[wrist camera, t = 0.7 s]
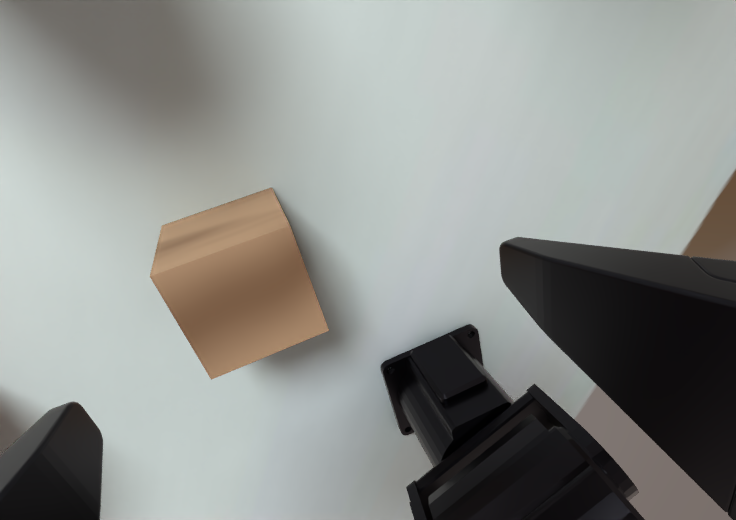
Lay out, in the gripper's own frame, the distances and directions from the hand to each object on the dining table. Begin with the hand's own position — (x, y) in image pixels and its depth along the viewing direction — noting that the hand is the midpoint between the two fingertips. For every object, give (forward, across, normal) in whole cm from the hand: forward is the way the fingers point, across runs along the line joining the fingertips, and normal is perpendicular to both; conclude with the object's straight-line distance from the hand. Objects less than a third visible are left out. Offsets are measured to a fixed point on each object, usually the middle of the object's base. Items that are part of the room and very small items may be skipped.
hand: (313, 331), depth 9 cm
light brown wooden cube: (+12, +2, +3) cm, 13 cm away
